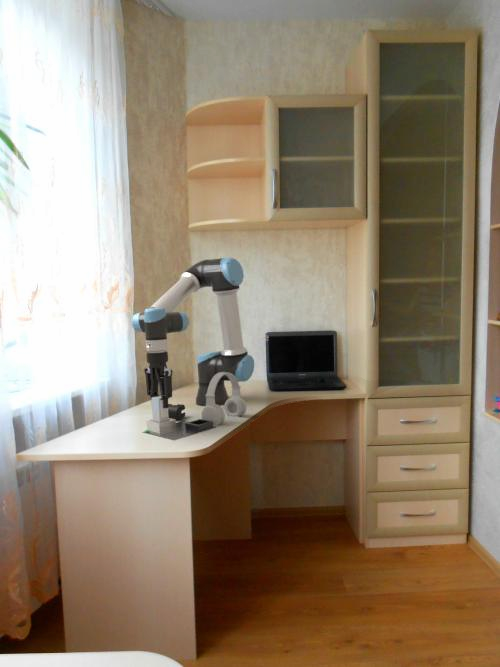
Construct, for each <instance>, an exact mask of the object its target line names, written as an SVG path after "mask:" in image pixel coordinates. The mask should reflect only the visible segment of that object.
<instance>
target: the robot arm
mask: <svg viewBox="0 0 500 667" xmlns="http://www.w3.org/2000/svg"><path fill="white" fill-rule="evenodd" d="M244 275H245V274H244V269H243V267H242V265H241V263H240V261H238V260H237V258H233V257H223V258H222V257H221V258H212V259H204V260H200V261H198V262H196V263H195V264H193V265H192V266H190V267H189V268H188V269H186V270H185V271H184V272H183V273H182V274H181V275H180V277H179V279H178V281H177V282H176V283H174V285H172V286H171V287H170V288H168V290H167V291H166V292H165V293H163V295H162V296H160V298H158V299H157V300H156V301H154V303H153V304H152V305H151V306H150V307H149V308H146V309H144V311H143V312H141V311H140V312H137V313H135V314H134V315H133V316H132V319H131V325H132V328H133V330H134V331H135V332H138V333H144V334H145V345H146V346H145V350H146V351H147V352H146V363H147V364H149V366H148V367H146V368H144V369H143V370H144V374H145V383H146V394H147V396H150V398H151V400H152V397H156V396H161V397H162V398H160V406H161V418H164V417H168V404H169V399H170V398H172V397H173V377H172V376H173V370H172V369H168V366H167V362H169V352H168V348H169V347H168V334H171V333H181V332H184V331H186V330H187V329H188V327H189V325H190V319H189V317H188V315H187V313H185V312H183V311H175V310H177V308H179V306H181V304H182V303H183V302H184V301H185V300H186V299H188V298H189V296H191V295H192V294H193V293H196V292H198V291H199V290H200V289H202V288H206V287H209V288H210V287H211V289H212V293H214V294H215V295H216V299H217V305H218V306H217V307H218V313H219V314H218V315H219V322H220V330H221V336H222V343H223V345H222V346H223V349H222V350H215V351H209V352H205V353H200V354H199V355H198V356H197V377H198V389H197V394H196V397H195V404H196V405H198V406H203V407H205V406H206V396H205V395H206V394H207V390H208V386H209V384H210V382H211V380H212V378H213V377H214V376H215V375H216V374H217V373H219V372H228V373H232V374H233V375H234V376H235V377H236V379H237V381H238V383H240V382H243V383H244V382H247V381H249V380H250V379H251V377H252V375H253V373H254V369H255V360H254V358H253V356H252V355H250V354H248V349H247V348H246V347H245V346H244V343H243V334H242V332H243V331H242V327H241V326H242V325H241V318H240V310H239V302H238V291H239V290H240V285H241V284H242V283H243V281H244ZM174 311H175V312H174ZM225 381H226V382H231V381H230V379H229V378H228V377H227V376H226V375H223V376H222V377H221V378H220V380H219V381H218V383H217V386H216V389H215V394H214V395H215V404H216V405H219V406H220V405H221V406H222V405H225V402H226V401H227V400H228V399H229V398H230V397H229V395H228V392H227V388H226V385H225ZM159 391H160V394H159Z"/></svg>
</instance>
